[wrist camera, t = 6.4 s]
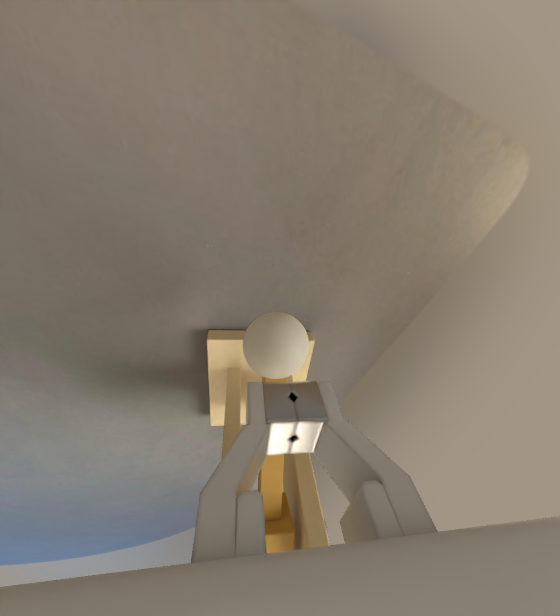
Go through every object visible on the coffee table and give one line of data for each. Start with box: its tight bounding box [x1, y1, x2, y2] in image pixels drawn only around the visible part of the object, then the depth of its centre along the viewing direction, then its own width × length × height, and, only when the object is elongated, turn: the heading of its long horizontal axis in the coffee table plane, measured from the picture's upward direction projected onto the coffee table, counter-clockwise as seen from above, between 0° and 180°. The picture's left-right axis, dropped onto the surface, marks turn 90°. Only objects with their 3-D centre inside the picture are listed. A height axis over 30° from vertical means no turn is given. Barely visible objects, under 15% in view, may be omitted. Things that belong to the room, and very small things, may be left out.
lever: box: [243, 312, 309, 553], centre depth 13 cm, size 13×3×3 cm, turn 173°
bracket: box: [207, 330, 330, 550], centre depth 17 cm, size 10×8×13 cm
